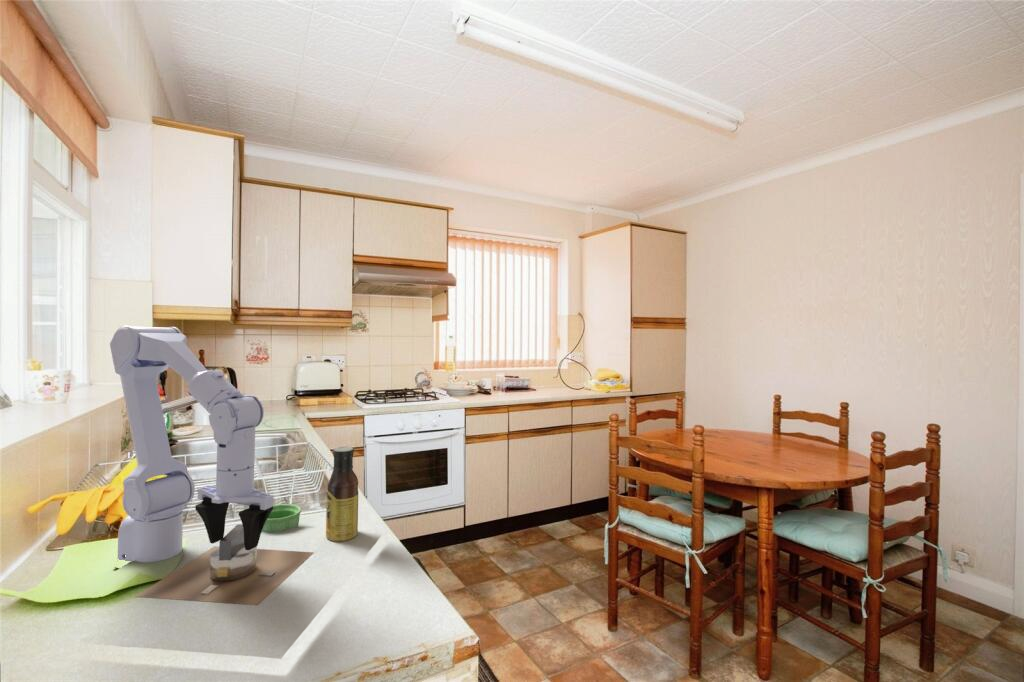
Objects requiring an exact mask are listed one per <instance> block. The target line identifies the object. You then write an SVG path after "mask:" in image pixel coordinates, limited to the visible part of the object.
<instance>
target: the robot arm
mask: <svg viewBox="0 0 1024 682" xmlns="http://www.w3.org/2000/svg"><path fill="white" fill-rule="evenodd" d="M109 346H110V347H109V348H110V352H111V356H112V357H111V358H112V363H113V366H114V371H115V373H116V374H118V375H119V376H120V381H121V386H122V392H123V397H124V402H125V408H126V413H127V418H128V423H129V427H130V433H131V438H132V444H133V448H134V453H135V458H136V463H137V466H136V467H135V468H134V469H133V470H132V471H131V472H130V473H129V474H128V475H127V476H125V478H124V479H123V481H122V485H123V495H122V508H123V510H124V512H125V513H126V515H127V516H126V517H125V518H123V520H122V521H121V524H120V525H119V528H118V533H117V560H118V559H119V560H125V561H133V562H138V563H155V562H160V561H164V560H167V559H170V558H173V557H175V556H177V555H179V554H180V553H181V552H182V550H183V527H184V526H183V524H184V522H183V521H184V517H183V516H184V511H185V510H187V509H188V504H189V503H190V502H191V501H192V500H193V498H194V496H195V491H196V488H195V487H196V485H195V482H194V480H193V478H192V477H191V476H190V475H191V474H190V473H189V471H188V467H187V464H186V463H184V462H181V461H180V460H177V459H176V458H174V457H173V456H172V451H171V446H170V441H169V436H168V431H167V427H166V421H165V417H164V411H163V407H162V402H161V397H160V391H159V387H158V381H157V379H158V377H159V375H160V374H161V373H163V372H164V371H167V370H168V369H169V368H170V369H172V370H173V371H174V372H175V373H176V374H178V375H179V376H181V377H182V378H183V379H184V380H185V381H186V382H188V387H187V389H188V393H189V394H190V396H192V398H193V399H194V400H195V401H196V402H197V403H199V405H200V406H201V407H202V408H204V409H205V411H206V412H207V413H208V414H209V415H208V421H209V424H210V427H211V429H212V432H213V440H214V442H215V444H217V445H216V446H217V447H216V473H215V477H216V478H215V485H205V486H202V487H198V488H197V500H201V503H198V504H196V505H195V511H196V512H197V514H199V516H200V518H201V520H202V521H203V525H204V527H205V529H206V534H207V537H208V542H209V544H215V543H218V542H220V540H221V539H222V538H223V537H225V531H226V529H225V528H226V518H227V517H226V516H227V513H228V509H229V506H230V504H236V505H241V506H248V507H247V508H245V509H243V510H241V511H238V516H239V518H240V521H241V523H242V525H243V530H244V546H245V550H251V549H253V548H254V547H256V546H257V547H258V544H259V543H260V538H261V535H262V532H263V531H262V529H263V526H264V524H265V522H266V520H267V518H268V516H269V514H270V513H271V511H272V510H273V506H274V495H273V494H269V493H266V492H264V491H261V490H259V489H256V488H255V457H256V450H255V449H256V428H257V427H258V426H260V425H261V423H262V421H263V419H264V414H265V412H264V407H263V404H262V402H261V401H260V400H259V398H258V397H257V396H256V395H251V394H249V395H247V394H245V393H241V391H240V390H239V389H238V388H236V387H235V386H234V385H233V384H232V383H231V382H230V381H229V380H228V379H227V378H226V377H225V374H224V373H223V372H222V371H218V370H212V369H211V370H210V369H209V370H208V369H207V368H206V366H205V365H203V363H202V362H201V360H199V359H198V357H196V355H195V354H194V353H193V352H192V350H191V349H190V348H189V347H188V339H187V335H185V334H183V332H182V331H181V329H179V328H178V327H176V326H167V327H161V326H160V327H159V326H158V327H157V326H155V327H153V326H152V327H151V326H130V325H122V326H119V328H118V329H117V330H116V331H115V333H114V334H113V336H112V339H111V340H110V342H109ZM159 476H162V477H159ZM155 477H159V478H156V479H151V478H155ZM149 479H150V480H149ZM125 555H126V557H125Z"/></svg>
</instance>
